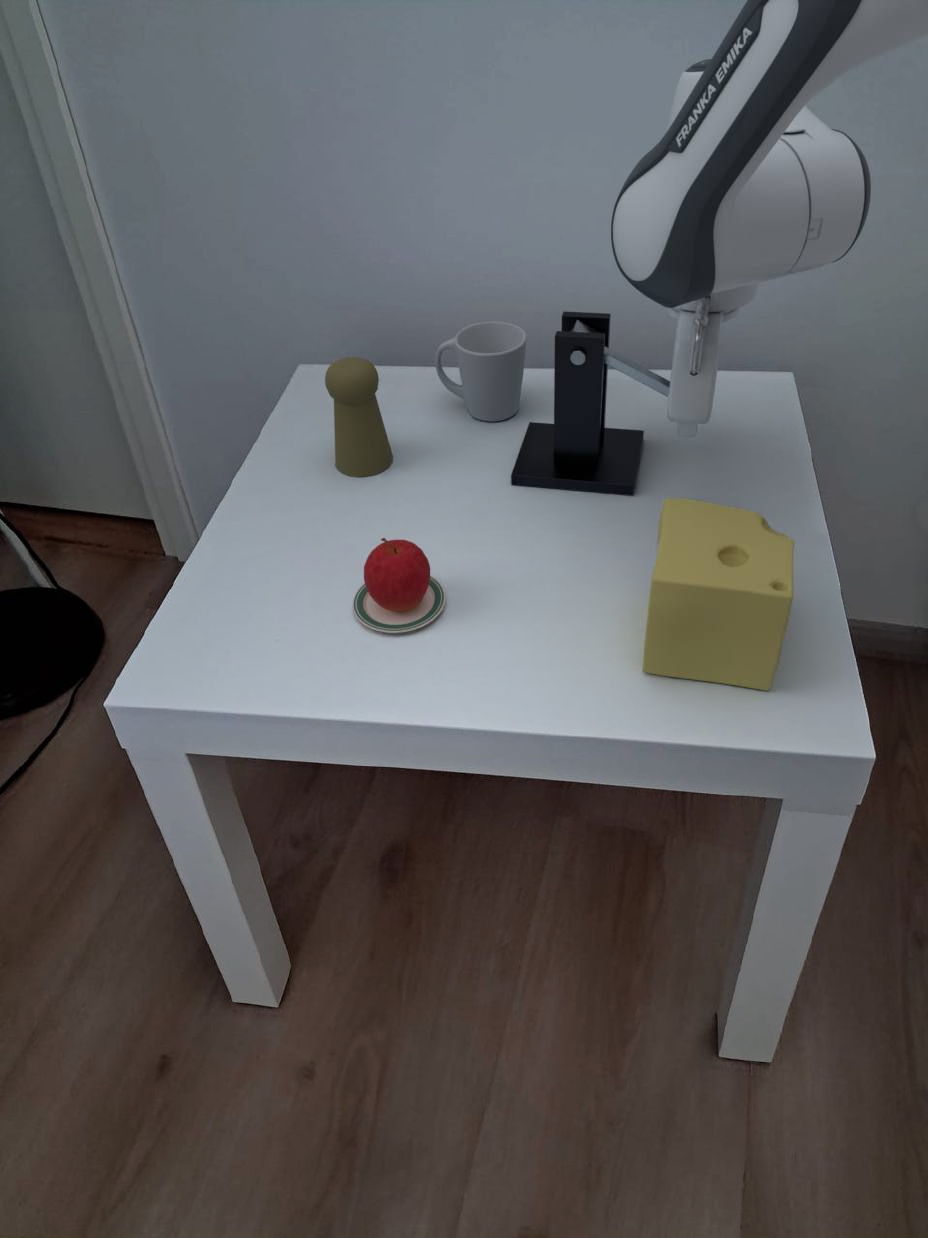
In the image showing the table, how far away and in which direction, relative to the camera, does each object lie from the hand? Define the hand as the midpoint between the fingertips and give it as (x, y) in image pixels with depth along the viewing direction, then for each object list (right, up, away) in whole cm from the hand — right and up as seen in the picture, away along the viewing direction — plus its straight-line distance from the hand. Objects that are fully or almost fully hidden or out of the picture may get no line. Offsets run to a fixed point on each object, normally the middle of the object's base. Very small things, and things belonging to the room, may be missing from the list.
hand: (688, 414), depth 89 cm
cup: (-19, +4, +15) cm, 25 cm away
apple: (-27, -18, -8) cm, 33 cm away
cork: (-32, -3, +9) cm, 33 cm away
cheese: (-2, -21, -13) cm, 25 cm away
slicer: (-10, -3, +6) cm, 12 cm away
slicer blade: (-6, +3, -1) cm, 7 cm away
